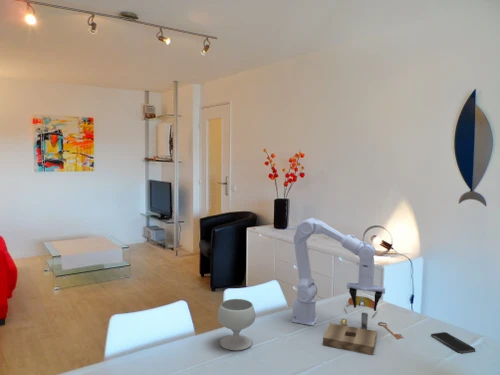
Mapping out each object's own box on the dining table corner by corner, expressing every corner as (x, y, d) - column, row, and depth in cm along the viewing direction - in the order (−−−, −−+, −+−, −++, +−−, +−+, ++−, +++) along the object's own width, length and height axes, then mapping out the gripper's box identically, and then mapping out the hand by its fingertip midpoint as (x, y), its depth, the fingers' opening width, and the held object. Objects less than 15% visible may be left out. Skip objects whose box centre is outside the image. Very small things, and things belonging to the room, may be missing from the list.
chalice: (209, 343, 146) (210, 304, 145) (236, 331, 156) (236, 295, 155) (236, 356, 136) (236, 315, 135) (262, 343, 147) (263, 304, 146)
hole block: (322, 345, 146) (323, 337, 146) (329, 330, 159) (330, 323, 159) (373, 355, 139) (373, 346, 139) (376, 338, 152) (376, 331, 152)
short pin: (340, 330, 159) (340, 320, 159) (341, 327, 161) (341, 318, 161) (346, 331, 158) (346, 321, 158) (347, 328, 161) (347, 319, 160)
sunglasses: (377, 307, 185) (378, 297, 184) (375, 324, 171) (376, 313, 170) (347, 302, 190) (347, 293, 189) (342, 318, 177) (343, 308, 175)
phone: (459, 352, 141) (429, 334, 155) (459, 355, 141) (429, 336, 155) (476, 349, 143) (445, 331, 158) (476, 352, 143) (445, 334, 158)
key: (407, 340, 153) (389, 324, 167) (407, 338, 152) (389, 322, 167) (393, 340, 152) (376, 323, 167) (393, 337, 152) (376, 321, 167)
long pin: (360, 333, 156) (361, 314, 156) (361, 331, 158) (361, 312, 158) (366, 334, 155) (367, 315, 155) (367, 332, 158) (368, 313, 157)
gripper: (346, 275, 154) (344, 309, 155) (384, 280, 149) (383, 315, 150) (348, 270, 161) (347, 303, 162) (386, 275, 155) (384, 308, 156)
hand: (364, 308), depth 156 cm, fingers open, 7 cm apart
